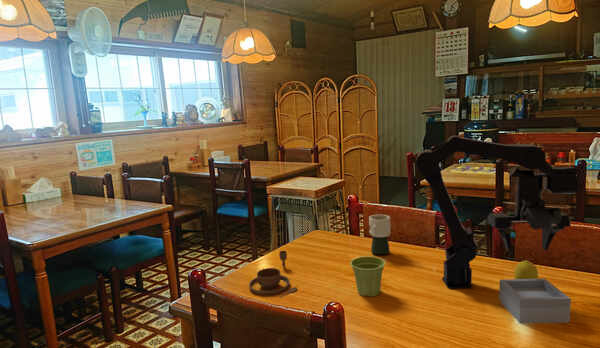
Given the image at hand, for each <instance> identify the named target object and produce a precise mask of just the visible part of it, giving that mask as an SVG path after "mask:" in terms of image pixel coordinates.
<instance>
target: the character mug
mask: <svg viewBox="0 0 600 348" xmlns="http://www.w3.org/2000/svg"><path fill="white" fill-rule="evenodd" d="M368 220H369V221H368V224H369V231H368V233H369V235H370V236H372V238H371V239H372V241H371V249H370V250H371V253H372V254H376V255H377V254H378V255H386V254H389V253H390V244H389V239H388V237H389V236H390V235H391V217H390V215H387V214H372V215H370V216H368Z"/></svg>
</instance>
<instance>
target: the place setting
mask: <svg viewBox="0 0 600 348" xmlns="http://www.w3.org/2000/svg"><path fill="white" fill-rule="evenodd" d="M279 259H280V260H281V262H282V265H281V266H282V267H286V260H287V259H288V253H287V251H286V250H280V251H279ZM281 280H283V281H282V282H284V283H285V282H286V283H285V285H284V286H283V287H281V288H278V289H275V288H276V287H277V285H279V284H280V282H281ZM256 282H258V283H256ZM255 283H256V284H258V285H259V286H260V287H262V288H263V289H265V290H258V289H255V288H254V286H255V285H256V284H255ZM254 284H255V285H254ZM253 285H254V286H253ZM252 286H253V288H252ZM289 287H290V279H289V278H288V277H287V276H284V275H282V274H281V270H280V269H278V268H275V267H268V268H262V269H260V270H259V271H257V272H256V277H254V278H253V279H251V280H250V282H249V283H248V288H249V289H250V291H251V292H252V293H254V294H256V295H260V294H261V296H272V295H276V294H279V293H280V294H281V293H282V292H284V291H286V290H287V289H288V288H289ZM272 289H273V290H272ZM274 289H275V290H274ZM297 289H298V287H297V286H296V287H295V286H294V287H291V288H290V289H289V290H288V291H287V292H285V293H284V294H282V295H280V296H279V298H282V297H285V296H286V295H288V294H292V293H295V292H296V291H297Z"/></svg>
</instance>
